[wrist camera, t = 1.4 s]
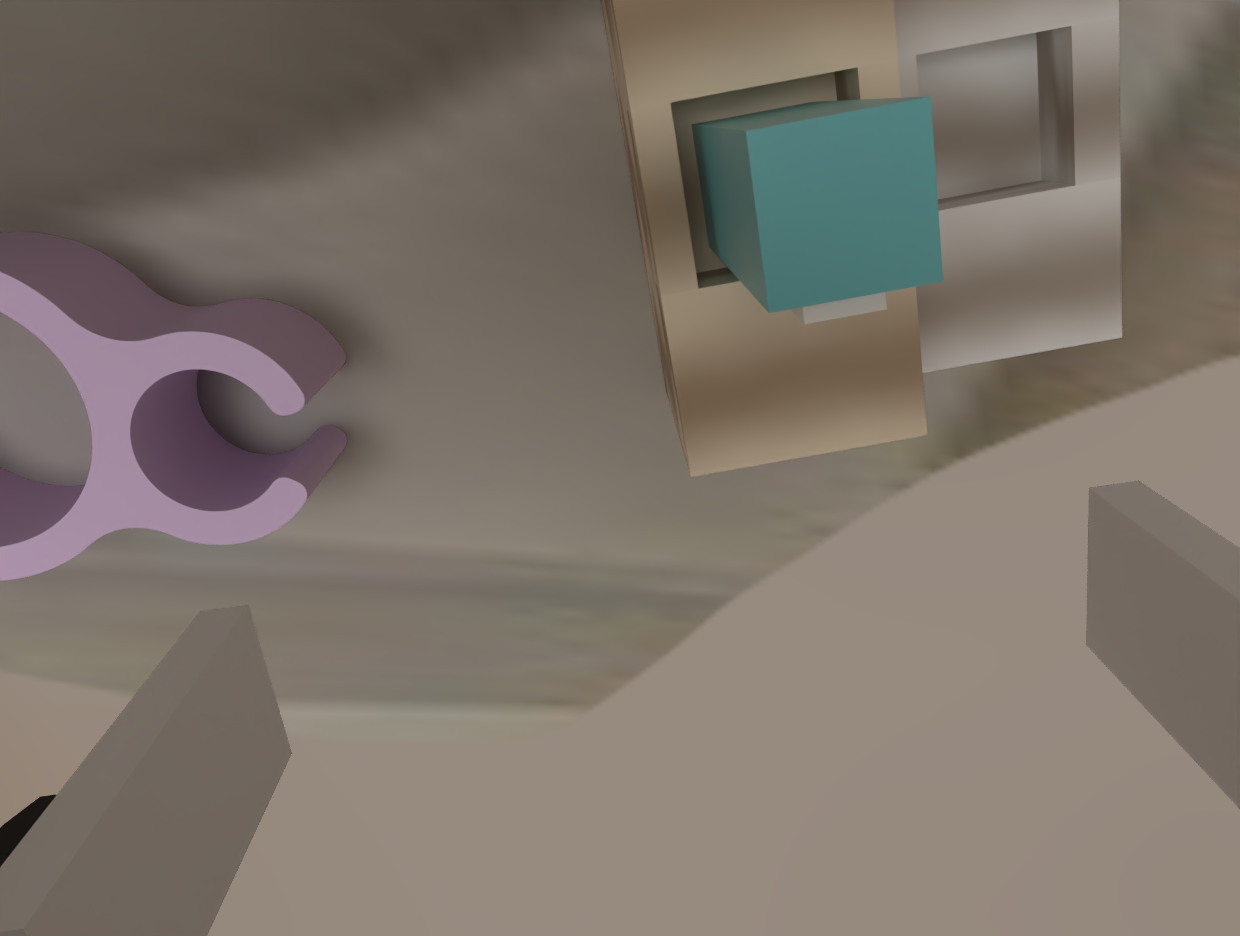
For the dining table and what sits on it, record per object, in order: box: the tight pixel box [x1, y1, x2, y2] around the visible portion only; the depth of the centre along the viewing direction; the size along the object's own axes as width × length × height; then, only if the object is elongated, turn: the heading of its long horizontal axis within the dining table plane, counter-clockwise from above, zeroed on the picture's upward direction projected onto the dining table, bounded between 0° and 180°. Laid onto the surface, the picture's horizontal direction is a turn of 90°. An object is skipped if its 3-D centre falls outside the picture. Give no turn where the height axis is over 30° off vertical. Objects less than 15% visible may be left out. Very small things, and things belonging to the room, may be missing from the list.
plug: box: [691, 97, 943, 324], centre depth 28 cm, size 5×4×12 cm
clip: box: [0, 232, 347, 580], centre depth 40 cm, size 20×12×7 cm, turn 86°
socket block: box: [601, 0, 1122, 477], centre depth 36 cm, size 18×18×11 cm
